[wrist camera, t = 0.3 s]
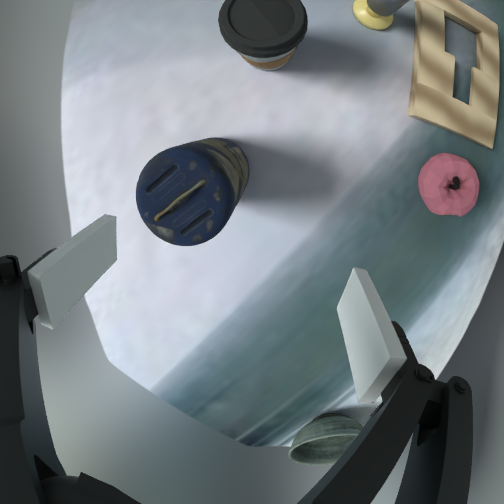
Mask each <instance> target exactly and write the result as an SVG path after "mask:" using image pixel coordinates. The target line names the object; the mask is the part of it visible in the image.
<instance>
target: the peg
mask: <svg viewBox="0 0 504 504" xmlns="http://www.w3.org/2000/svg"><path fill="white" fill-rule="evenodd" d="M408 1H409V0H356V1H355V2H354V4H353V7H352V9H353V14H354V16H355V18H356V19H357V20H358V21H359V22H360V23H361V24H362V25H363V26H365V27H367V28H369V29H372V30H383V29H386V28H387V27H389V26H390V25H391V24H392V22H393V13H394V12H396V11H397V10H398V9H399V8H401V7H402V6H403V5H404V4H406V3H407V2H408Z"/></svg>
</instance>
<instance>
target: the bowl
mask: <svg viewBox="0 0 504 504" xmlns="http://www.w3.org/2000/svg"><path fill="white" fill-rule="evenodd" d="M362 429H363V426H362V425H361V424H360V423H359V422H357V421H356V420H354V419H351V418H348V417H344V416H342V415H340V414H326V415H322V416H319V417H317V418H315V419H314V420H313V421H312V422H311V423H309V424H307V425H306V426H305V427H303V428H302V429H301V430H300V431H299V432H298V433H297V435H296V436H295V438H294V441H293V443H292V446H291V449H290V451H289V453H288V454H289V457H290V459H291V460H292V461H294V462H297V463H299V464H304V465H328V464H335V463H336V462H337V461H338V459H339V458H340V457H341V456H342V455H343V453H344V452H345V451H346V450H347V449H348V447H349V446H350V445H351V443H352V442H353V441H354V440H355V438H356V437H357V436H358V434H359V433H360V432H361V430H362Z"/></svg>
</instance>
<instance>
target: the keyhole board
mask: <svg viewBox="0 0 504 504" xmlns="http://www.w3.org/2000/svg"><path fill="white" fill-rule="evenodd" d="M444 16H446V17H448V18H450V19H452V20H454V21H456V22H457V23H459V24H461V25H463V26H465V27H466V28H468V29H470V30H471V31H473V32H475V33H476V43H477V68H475V67H471V87H470V100H469V105H467V104H465V103H464V102H461V101H459V100H457V99H455V98H453V97H452V96H453V85H454V69H455V56H453V55H451V54H449V53H447V52H445V22H444ZM499 72H500V64H499V38H498V26H497V24H495V23H494V22H492V21H491V20H489V19H488V18H487V17H485V16H483V15H482V14H480V13H479V12H477V11H476V10H474V9H472V8H471V7H469V6H468V5H466V4H464V3H462V2H461V1H459V0H415V41H414V60H413V72H412V83H411V92H410V101H409V108H408V116H411V117H414V118H417V119H420V120H422V121H425V122H428V123H430V124H433V125H436V126H438V127H441V128H443V129H446V130H448V131H450V132H453V133H455V134H457V135H460V136H462V137H464V138H466V139H469V140H471V141H473V142H475V143H477V144H479V145H481V146H483V147H487V148H491V149H493V143H494V137H495V129H496V121H497V111H498V99H499Z"/></svg>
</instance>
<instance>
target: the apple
mask: <svg viewBox="0 0 504 504" xmlns="http://www.w3.org/2000/svg"><path fill="white" fill-rule="evenodd" d="M418 185H419V193H420V195H421V197H422V199H423V201H424V203H425V205H426V206H427V208H428V209H429V210H430V211H431V212H433V213H436V214H438V215H448V214H452V215H458V216H459V217H461V216H463V215H465V214H466V213H468V212H469V211H470V210H471V209H472V208H473V207H474V205H475V204H476V201H477V197H478V194H479V180H478V176H477V173H476V171H475V169H474V168H473V167H472V165H471V164H470V163H469V162H468V161H467V160H466V159H464V158H461V157H459V156H457V155H454V154H449V153H439V154H437V155H435V156H432V157H431V158H430V159H429V160H428V161H427V162H426V163H425V164H424V166H423V167H422V168H421V171H420V174H419V176H418Z"/></svg>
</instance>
